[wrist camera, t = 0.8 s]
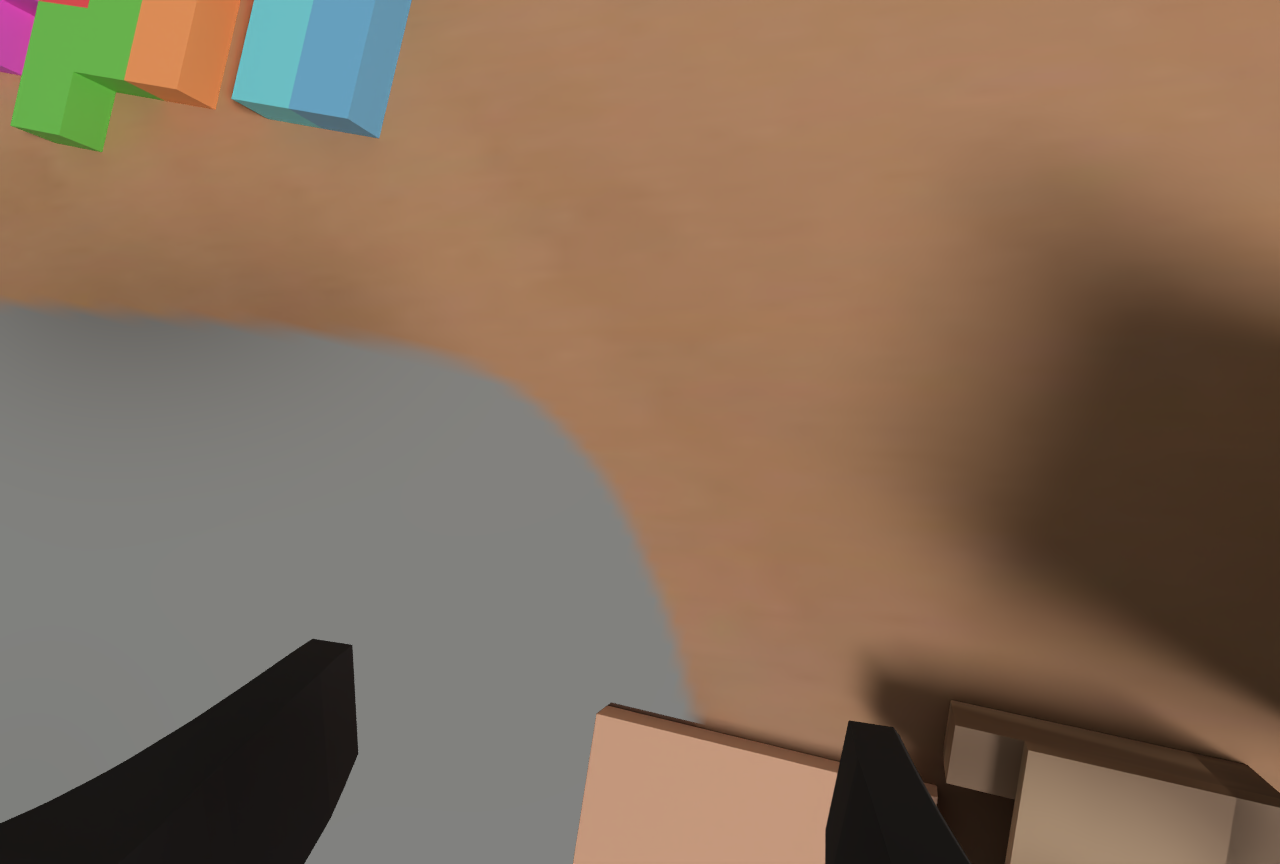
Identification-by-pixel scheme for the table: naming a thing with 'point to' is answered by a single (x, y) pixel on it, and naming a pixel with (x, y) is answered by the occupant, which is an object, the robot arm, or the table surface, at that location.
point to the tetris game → (199, 60)
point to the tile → (699, 796)
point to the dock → (1110, 794)
